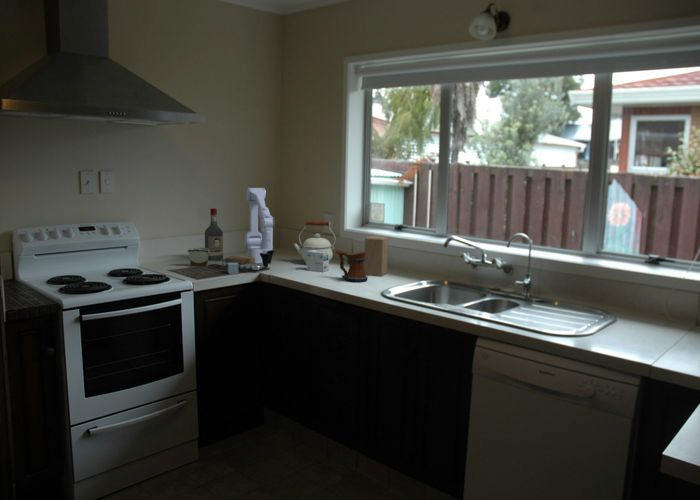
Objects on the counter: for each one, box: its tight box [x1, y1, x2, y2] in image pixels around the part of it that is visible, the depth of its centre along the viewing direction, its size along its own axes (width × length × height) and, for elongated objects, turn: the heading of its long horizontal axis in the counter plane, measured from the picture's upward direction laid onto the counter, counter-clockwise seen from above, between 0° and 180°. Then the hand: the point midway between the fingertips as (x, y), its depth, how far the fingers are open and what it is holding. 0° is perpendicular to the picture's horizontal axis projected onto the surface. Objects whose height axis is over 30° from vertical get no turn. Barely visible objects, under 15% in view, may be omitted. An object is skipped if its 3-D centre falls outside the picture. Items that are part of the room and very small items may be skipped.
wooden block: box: [364, 235, 389, 277], centre depth 314 cm, size 10×10×20 cm
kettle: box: [293, 220, 337, 265], centre depth 342 cm, size 25×18×25 cm
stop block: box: [227, 263, 239, 275], centre depth 309 cm, size 5×5×6 cm
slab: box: [225, 255, 255, 265], centre depth 324 cm, size 10×12×2 cm
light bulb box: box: [306, 250, 330, 273], centre depth 322 cm, size 11×7×11 cm, turn 65°
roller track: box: [219, 261, 271, 274], centre depth 323 cm, size 13×24×3 cm, turn 61°
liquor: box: [204, 207, 224, 261], centre depth 347 cm, size 9×9×30 cm
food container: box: [187, 247, 210, 268], centre depth 326 cm, size 12×6×10 cm, turn 84°
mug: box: [336, 249, 369, 283], centre depth 299 cm, size 18×12×15 cm, turn 57°
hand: (267, 264), depth 315 cm, fingers open, 7 cm apart
